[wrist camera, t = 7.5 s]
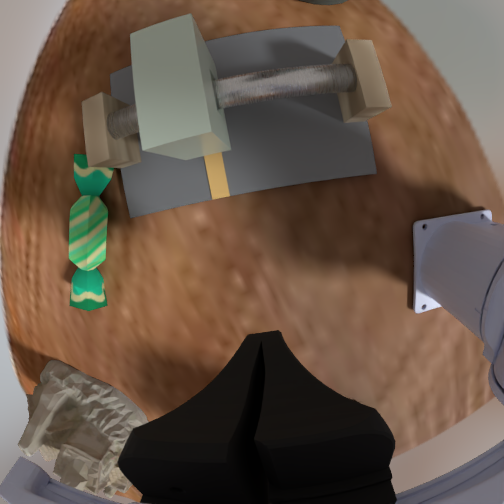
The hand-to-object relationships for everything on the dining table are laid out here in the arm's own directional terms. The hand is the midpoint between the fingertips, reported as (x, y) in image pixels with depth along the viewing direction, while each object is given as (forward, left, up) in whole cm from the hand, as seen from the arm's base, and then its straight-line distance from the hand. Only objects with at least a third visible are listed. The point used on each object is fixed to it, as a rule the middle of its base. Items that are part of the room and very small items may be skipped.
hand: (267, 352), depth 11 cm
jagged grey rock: (+24, +16, -11) cm, 31 cm away
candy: (+13, -6, -11) cm, 18 cm away
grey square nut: (+2, -12, -8) cm, 15 cm away
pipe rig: (0, -12, -10) cm, 16 cm away
